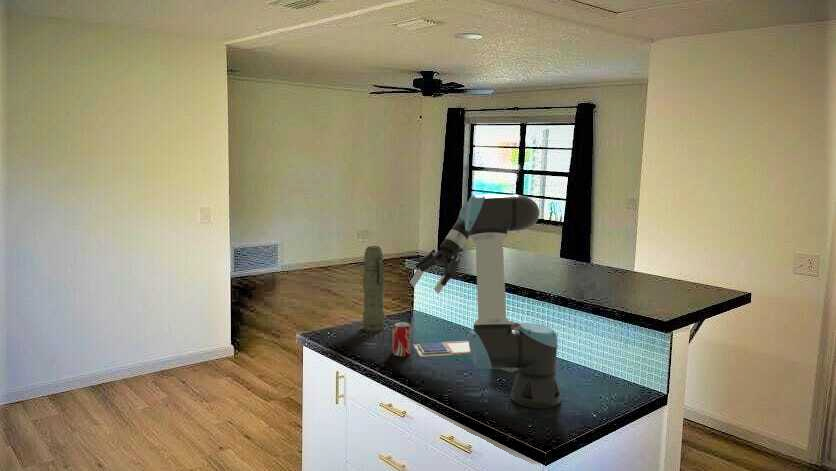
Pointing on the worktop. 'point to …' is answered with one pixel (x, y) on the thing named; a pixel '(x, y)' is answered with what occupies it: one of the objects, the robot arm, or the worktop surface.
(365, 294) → the thermos
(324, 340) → the worktop surface
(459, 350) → the orange bordered square plate
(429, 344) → the ink pad
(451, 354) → the blotter board
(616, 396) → the worktop surface
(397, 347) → the soda can
